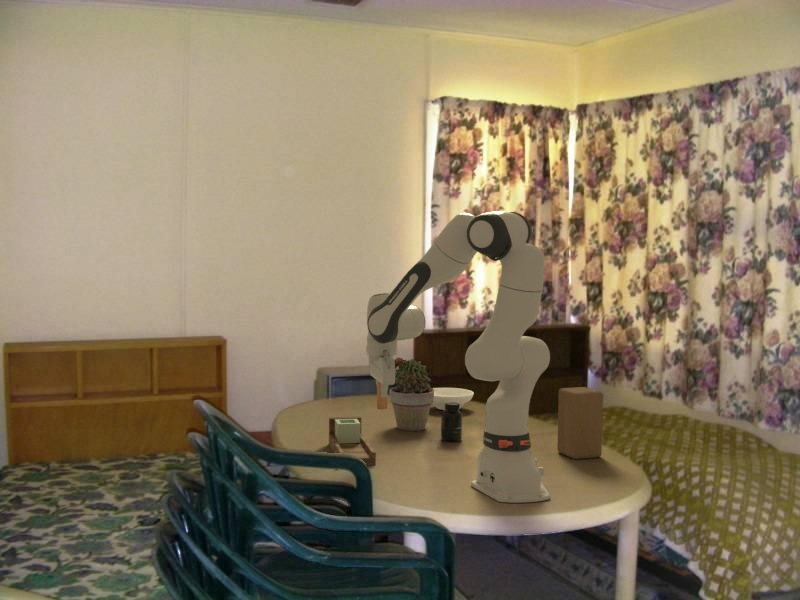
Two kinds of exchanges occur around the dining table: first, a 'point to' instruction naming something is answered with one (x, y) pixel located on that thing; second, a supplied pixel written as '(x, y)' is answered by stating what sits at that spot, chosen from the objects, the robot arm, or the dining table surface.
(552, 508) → the dining table surface
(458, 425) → the supplement bottle
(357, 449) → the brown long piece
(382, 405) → the dowel
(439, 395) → the bowl
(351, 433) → the socket block
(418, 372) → the potted plant
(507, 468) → the robot arm
